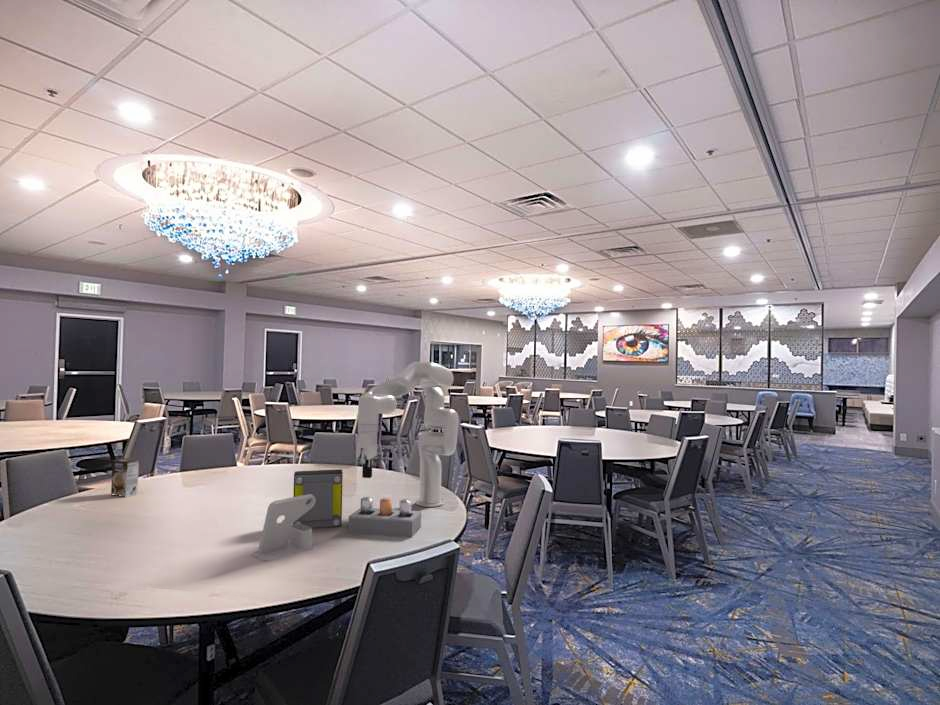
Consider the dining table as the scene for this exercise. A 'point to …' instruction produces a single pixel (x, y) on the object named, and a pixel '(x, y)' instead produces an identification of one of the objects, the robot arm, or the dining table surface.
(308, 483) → the electrical component
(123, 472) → the coffee box
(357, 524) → the grey rectangular block
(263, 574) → the dining table surface
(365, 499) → the plunger
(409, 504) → the plunger
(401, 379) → the robot arm
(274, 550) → the phone holder
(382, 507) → the plunger rust
